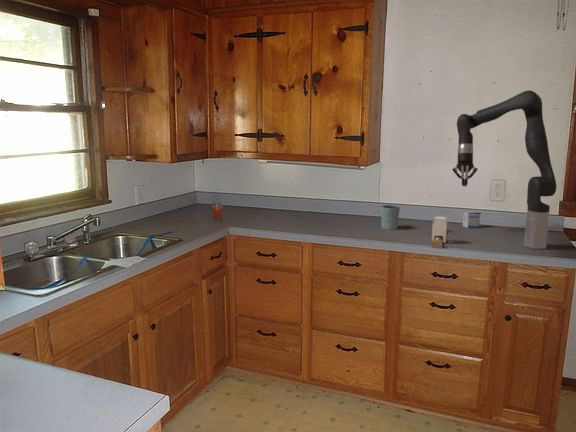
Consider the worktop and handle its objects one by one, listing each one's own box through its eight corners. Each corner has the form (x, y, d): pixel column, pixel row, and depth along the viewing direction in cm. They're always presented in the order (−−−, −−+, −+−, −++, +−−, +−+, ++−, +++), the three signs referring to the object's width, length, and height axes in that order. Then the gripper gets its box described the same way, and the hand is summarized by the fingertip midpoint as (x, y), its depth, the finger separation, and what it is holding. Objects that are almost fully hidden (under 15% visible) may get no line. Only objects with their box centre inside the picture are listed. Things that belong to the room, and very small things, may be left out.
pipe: (437, 230, 271) (438, 224, 270) (454, 231, 268) (455, 225, 267) (432, 247, 236) (432, 240, 235) (451, 249, 233) (451, 242, 232)
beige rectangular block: (432, 239, 249) (433, 216, 247) (445, 240, 247) (447, 217, 245) (431, 241, 245) (433, 218, 242) (445, 242, 242) (446, 219, 240)
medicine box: (467, 228, 275) (468, 212, 274) (462, 226, 280) (463, 211, 278) (479, 227, 278) (480, 212, 276) (474, 225, 282) (475, 210, 280)
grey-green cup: (385, 230, 269) (386, 208, 267) (376, 226, 279) (377, 205, 276) (402, 229, 272) (403, 207, 269) (393, 225, 281) (394, 204, 279)
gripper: (478, 153, 263) (478, 187, 263) (452, 154, 267) (451, 186, 267) (479, 151, 256) (478, 185, 256) (451, 152, 260) (450, 185, 260)
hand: (464, 186), depth 261 cm, fingers closed
